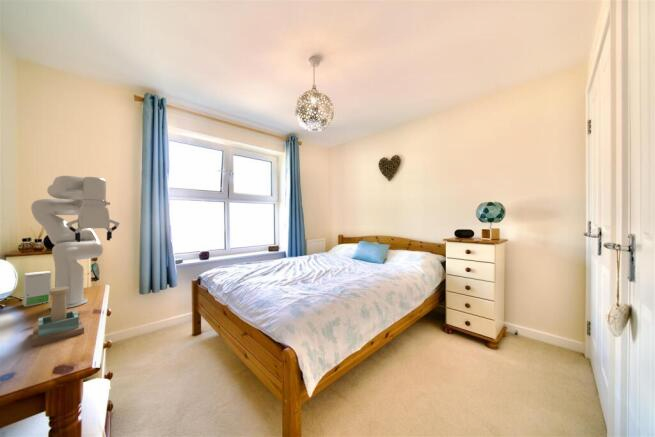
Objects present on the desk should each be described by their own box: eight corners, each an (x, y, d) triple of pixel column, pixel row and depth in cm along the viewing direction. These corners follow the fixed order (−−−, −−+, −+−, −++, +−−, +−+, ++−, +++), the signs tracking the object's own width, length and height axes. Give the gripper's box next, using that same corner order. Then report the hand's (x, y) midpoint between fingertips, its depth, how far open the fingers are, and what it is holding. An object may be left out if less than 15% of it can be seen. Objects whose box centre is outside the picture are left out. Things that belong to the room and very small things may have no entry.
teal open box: (32, 333, 86) (33, 317, 86) (79, 322, 95) (79, 308, 95) (32, 346, 77) (32, 329, 77) (83, 333, 87) (84, 317, 87)
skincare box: (24, 307, 110) (24, 275, 110) (22, 304, 113) (22, 273, 113) (51, 302, 117) (51, 271, 117) (48, 299, 120) (49, 270, 120)
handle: (46, 333, 82) (47, 292, 82) (50, 326, 87) (51, 288, 87) (66, 329, 86) (67, 289, 86) (69, 323, 90) (70, 285, 90)
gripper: (117, 205, 114) (117, 239, 114) (65, 203, 100) (64, 241, 100) (121, 205, 109) (120, 240, 109) (66, 202, 95) (66, 243, 96)
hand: (94, 241), depth 105 cm, fingers open, 9 cm apart
